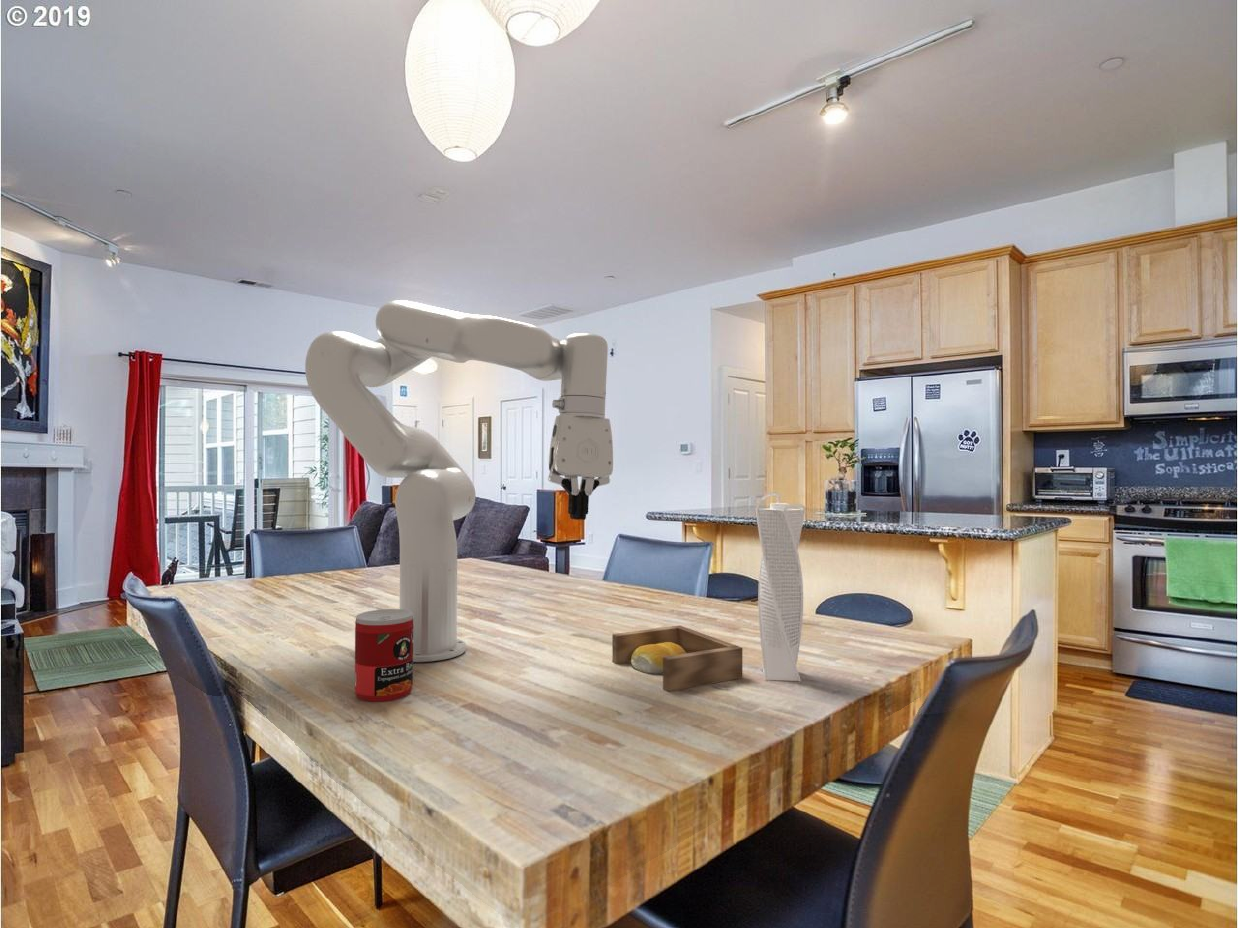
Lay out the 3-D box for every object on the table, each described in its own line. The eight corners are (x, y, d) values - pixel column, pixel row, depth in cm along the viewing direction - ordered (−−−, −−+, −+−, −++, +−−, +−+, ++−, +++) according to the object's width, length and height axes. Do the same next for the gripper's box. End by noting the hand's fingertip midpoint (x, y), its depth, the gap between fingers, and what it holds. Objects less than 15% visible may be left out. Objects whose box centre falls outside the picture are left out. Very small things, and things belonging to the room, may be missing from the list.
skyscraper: (753, 666, 104) (752, 492, 105) (800, 667, 103) (799, 492, 104) (758, 681, 96) (758, 493, 97) (810, 683, 95) (809, 493, 96)
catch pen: (668, 691, 92) (668, 659, 92) (612, 661, 106) (612, 634, 107) (742, 677, 98) (742, 647, 98) (680, 651, 113) (680, 625, 113)
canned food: (379, 706, 85) (380, 622, 86) (342, 695, 90) (342, 615, 90) (425, 690, 92) (425, 612, 92) (388, 680, 96) (388, 606, 96)
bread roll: (697, 667, 104) (697, 642, 104) (658, 678, 98) (658, 652, 98) (660, 656, 110) (660, 633, 110) (621, 666, 104) (622, 641, 104)
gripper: (548, 403, 101) (543, 520, 101) (632, 411, 108) (627, 521, 108) (532, 407, 108) (527, 516, 108) (612, 414, 115) (608, 517, 115)
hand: (577, 518), depth 108 cm, fingers closed
